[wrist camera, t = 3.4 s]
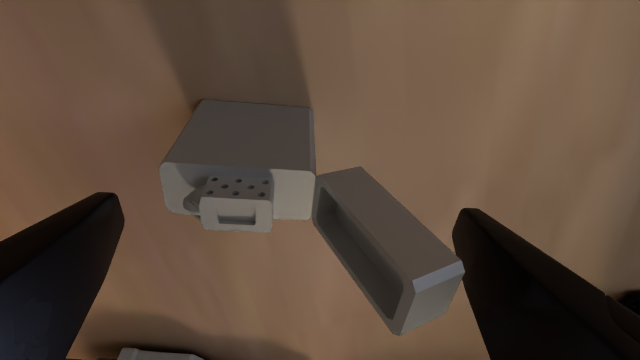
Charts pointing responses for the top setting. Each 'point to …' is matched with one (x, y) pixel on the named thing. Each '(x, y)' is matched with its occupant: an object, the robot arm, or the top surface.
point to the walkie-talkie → (149, 355)
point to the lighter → (307, 204)
